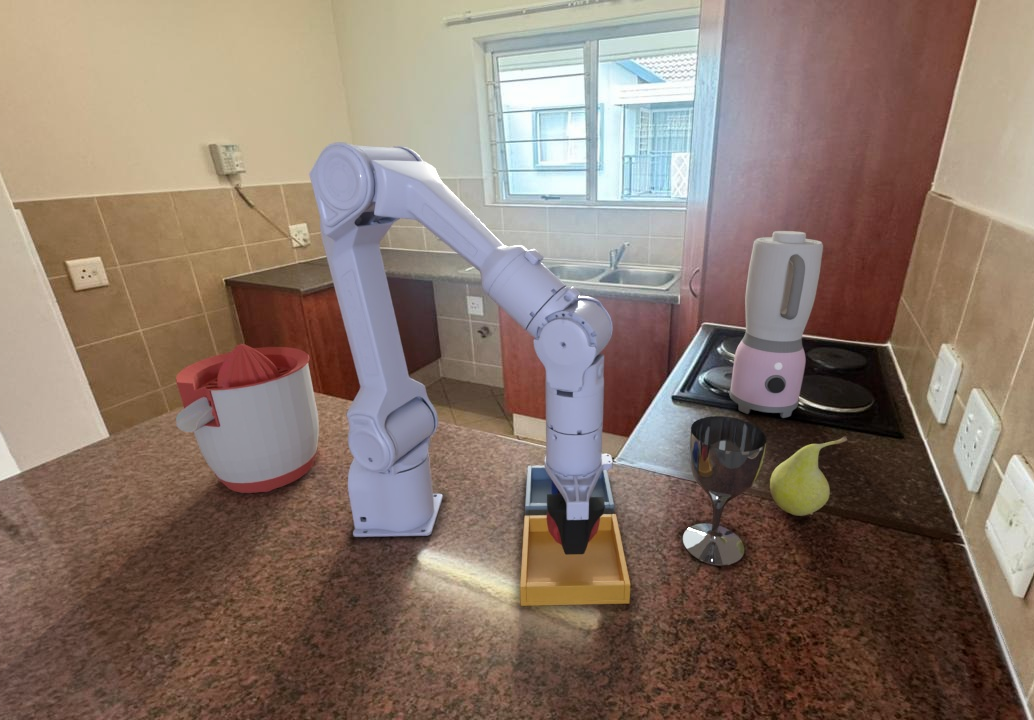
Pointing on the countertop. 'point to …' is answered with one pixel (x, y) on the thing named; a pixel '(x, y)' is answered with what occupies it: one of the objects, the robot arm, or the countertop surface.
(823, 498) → the fruit
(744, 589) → the countertop surface
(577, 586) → the ochre tray
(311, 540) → the countertop surface
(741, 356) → the blender
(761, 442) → the wine glass
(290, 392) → the citrus juicer
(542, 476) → the gray tray
